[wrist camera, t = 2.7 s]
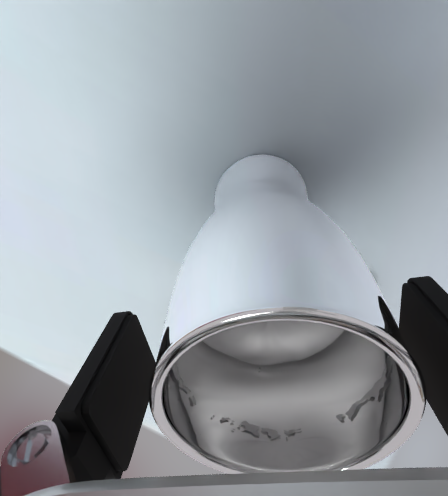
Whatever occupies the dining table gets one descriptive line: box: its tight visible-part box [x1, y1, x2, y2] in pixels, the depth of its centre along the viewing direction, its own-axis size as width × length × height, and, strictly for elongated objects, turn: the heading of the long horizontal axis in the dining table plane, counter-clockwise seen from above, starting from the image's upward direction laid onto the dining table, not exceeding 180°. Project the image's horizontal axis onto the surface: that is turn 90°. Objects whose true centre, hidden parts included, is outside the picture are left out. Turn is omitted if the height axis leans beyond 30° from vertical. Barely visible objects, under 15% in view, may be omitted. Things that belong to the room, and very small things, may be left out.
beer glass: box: [149, 154, 426, 474], centre depth 14 cm, size 7×7×15 cm
